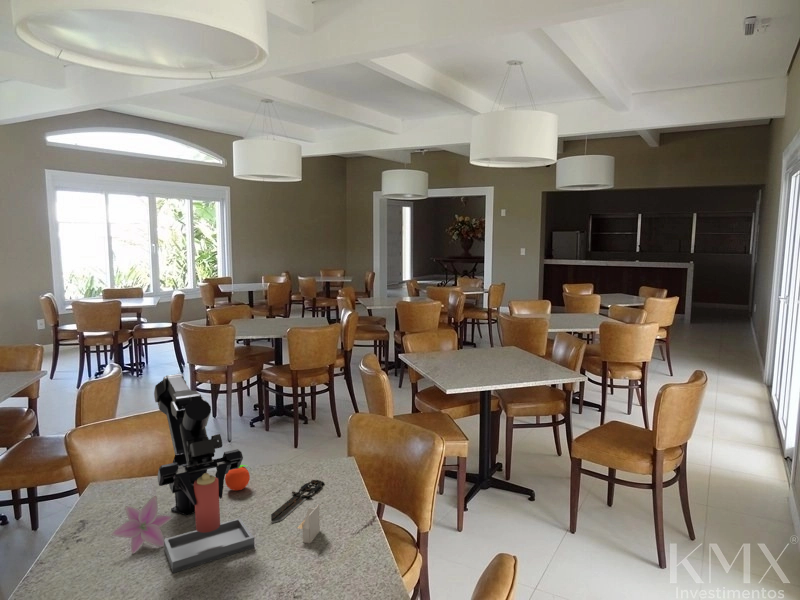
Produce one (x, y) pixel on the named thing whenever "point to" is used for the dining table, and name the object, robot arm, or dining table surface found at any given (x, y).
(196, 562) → the tray
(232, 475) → the clementine
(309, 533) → the architectural model
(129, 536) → the lily
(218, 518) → the pepper mill
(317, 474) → the dining table surface
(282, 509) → the knife
